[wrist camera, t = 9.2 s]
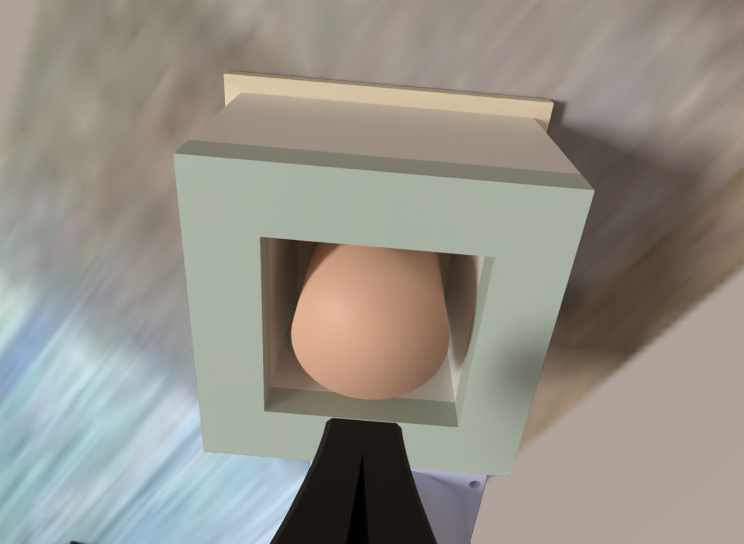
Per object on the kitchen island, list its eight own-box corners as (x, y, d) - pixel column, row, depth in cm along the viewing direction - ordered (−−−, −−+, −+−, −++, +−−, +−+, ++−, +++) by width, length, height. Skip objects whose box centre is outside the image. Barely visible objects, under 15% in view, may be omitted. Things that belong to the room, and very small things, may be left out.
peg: (427, 289, 20) (438, 405, 15) (317, 280, 20) (291, 393, 15) (442, 185, 18) (460, 278, 13) (320, 176, 18) (291, 265, 13)
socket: (490, 353, 22) (522, 489, 17) (240, 332, 22) (188, 461, 16) (549, 99, 17) (625, 170, 12) (228, 70, 17) (146, 127, 12)
